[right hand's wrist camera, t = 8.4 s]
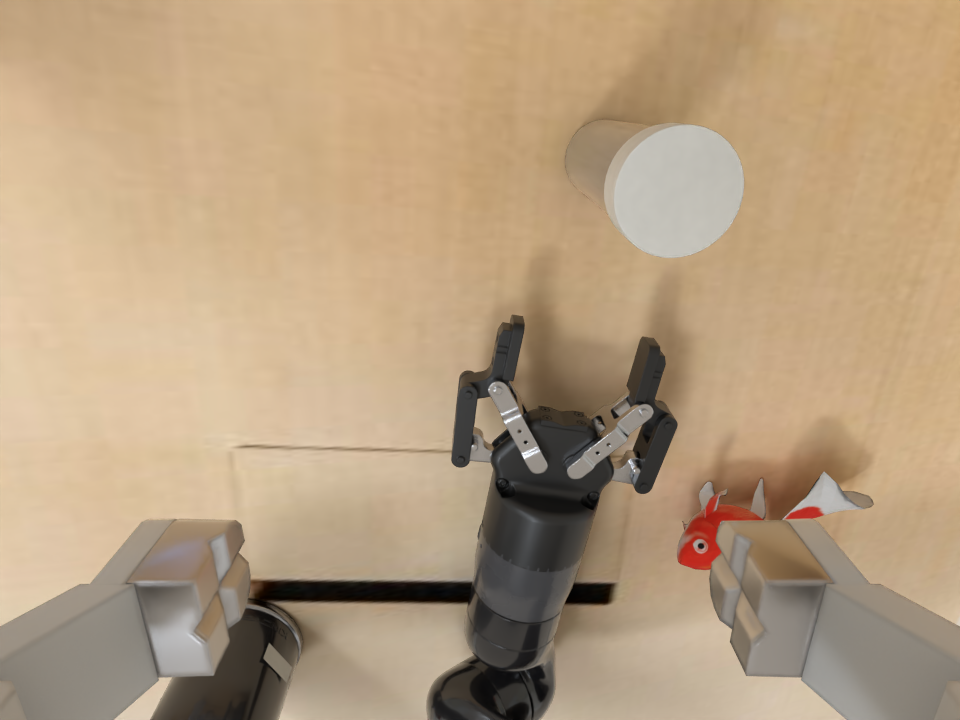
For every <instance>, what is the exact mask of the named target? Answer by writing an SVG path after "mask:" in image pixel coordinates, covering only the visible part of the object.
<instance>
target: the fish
mask: <svg viewBox="0 0 960 720" xmlns="http://www.w3.org/2000/svg"><path fill="white" fill-rule="evenodd" d="M727 491H728V489H725V490H723V491H721V492H718V493H717V494H715V493H714V490H713V485H712V483H711V482H707V483H706V484H705V485H704V486H703V488H702V489H701V491H700V493H699V500H700V503H701V511H700V512H698V513H697V514H695V515H694V516H693V518H692V519H691V520H690V522H689V523H688V524H684V522H683V521H682V522H683V526H684V532H683V534H682V536H681V538H680V541H679V544H678V550H677V558H678V562H679V563H680V564H682V565H685V566H688V567H690V568H693V569H701V570H709V569H711V563H712V562H713V561H714V560H715V559H716V558H717V557H718V556H719V555H720V554H721V553H722V552H721V550H720V549H719V547H718V545H717V543H716V541H715V540H716V534H717V529H718V527H719V525H720V523H721V521H758V520H764V518H765V516H766V506H765V498H764V486H763V479H762V478H761V479H760V481H759V484H758V486H757V489H756V491H755V494H754V498H753V502H752V506H751V509H750V511H749V510H747V509H744V508H741V507H737V506H734V505H727V504H718V503H719V498H720V496H721V495H726V494H727ZM873 505H874V503H873V501H872V499H871V498H870V497H869V496H867V495H864V494H861V493H858V492H854V491H842V490H841V488H840V487H839V486H838V484H837V483H836V482H835V481H834V480H833V479H832V478H831V477H830V476H829V475H827V474H826V473H825V472H823V473H822V475H821V476H820V477H819V478H818V480H817V481H816V482H815V484H814V485H813V487H812V488H811V490H810V492H809V493H808V495H807V496H806V497H805V498H804V499H803V500H802V501H801V502H800V503H799V504H798V505H797V506H796V507H795V508H794V509H793V510H792V511H790V512H789V513H788V514H787V515H786V516H785V517H784V518H783V519H812V518H816V517H820V516H823V515H826V514H830V513H834V512H839V511H844V510H851V509H866V508H869V507H871V506H873Z"/></svg>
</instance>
